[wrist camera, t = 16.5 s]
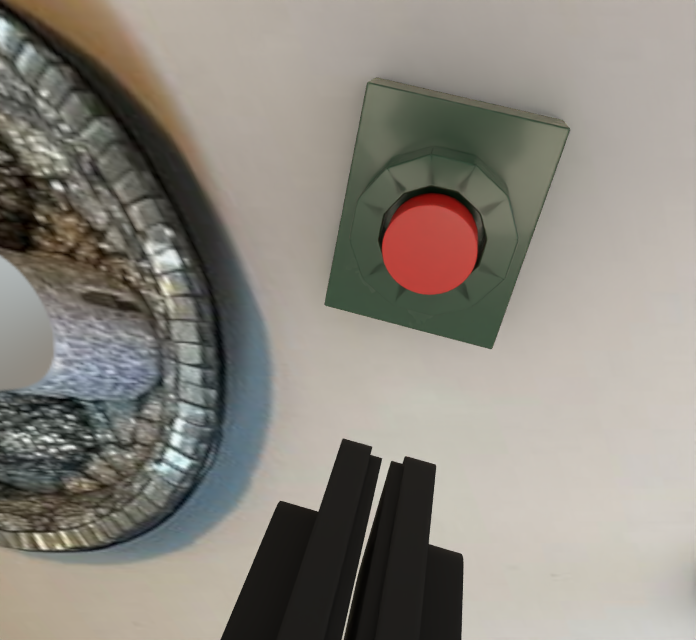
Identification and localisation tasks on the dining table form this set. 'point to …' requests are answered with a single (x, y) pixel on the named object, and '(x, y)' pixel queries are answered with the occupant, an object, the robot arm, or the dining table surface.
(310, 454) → the dining table surface
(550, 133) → the button box
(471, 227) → the button
